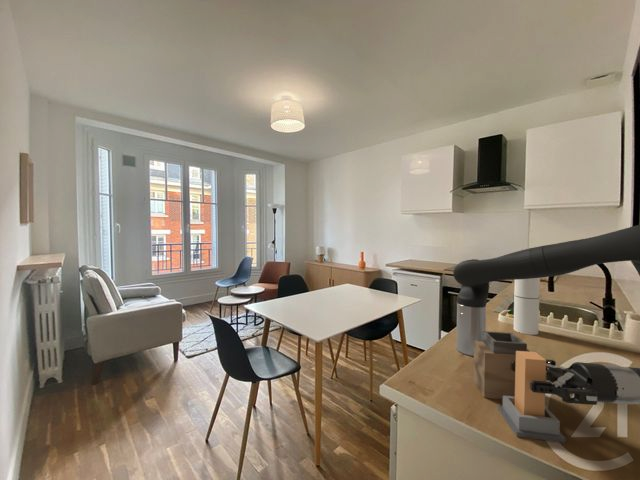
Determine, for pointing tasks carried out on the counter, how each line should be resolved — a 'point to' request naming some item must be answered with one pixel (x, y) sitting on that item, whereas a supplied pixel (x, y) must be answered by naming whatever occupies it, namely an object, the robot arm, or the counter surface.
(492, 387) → the square socket base
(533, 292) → the container
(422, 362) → the counter surface
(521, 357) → the plug
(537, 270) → the robot arm
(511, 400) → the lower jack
